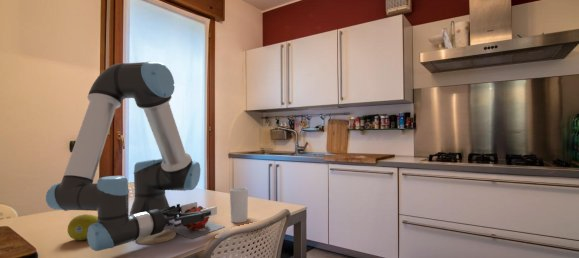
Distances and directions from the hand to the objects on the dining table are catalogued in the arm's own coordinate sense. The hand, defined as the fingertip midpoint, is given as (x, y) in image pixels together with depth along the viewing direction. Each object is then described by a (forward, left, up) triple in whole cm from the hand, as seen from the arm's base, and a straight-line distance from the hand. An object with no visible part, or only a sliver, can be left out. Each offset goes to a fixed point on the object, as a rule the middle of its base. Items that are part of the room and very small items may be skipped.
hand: (206, 207), depth 110 cm
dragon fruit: (0, -4, -7) cm, 8 cm away
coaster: (-4, -17, -7) cm, 19 cm away
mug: (+5, +13, -7) cm, 15 cm away
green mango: (-22, -31, -7) cm, 39 cm away
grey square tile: (0, -4, -7) cm, 8 cm away
